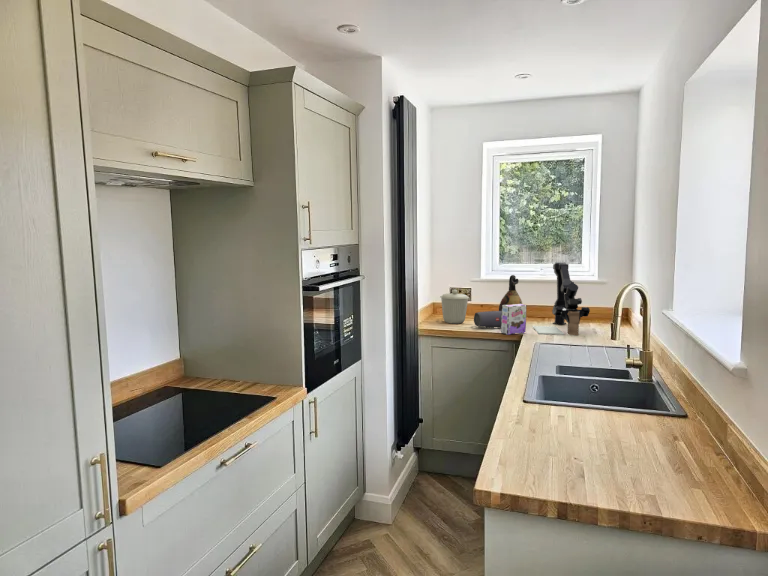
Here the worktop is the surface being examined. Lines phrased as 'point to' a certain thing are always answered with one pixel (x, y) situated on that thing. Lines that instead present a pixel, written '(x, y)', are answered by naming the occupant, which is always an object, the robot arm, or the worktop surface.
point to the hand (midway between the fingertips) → (573, 323)
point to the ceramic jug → (511, 294)
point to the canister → (454, 307)
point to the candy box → (513, 319)
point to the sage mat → (548, 330)
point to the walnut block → (573, 323)
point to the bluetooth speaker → (488, 319)
